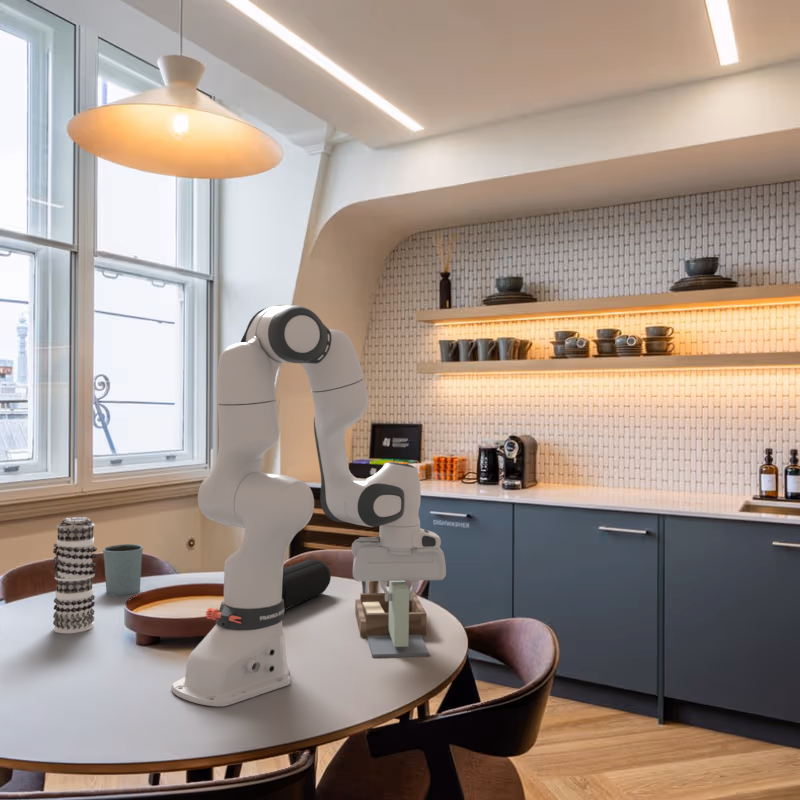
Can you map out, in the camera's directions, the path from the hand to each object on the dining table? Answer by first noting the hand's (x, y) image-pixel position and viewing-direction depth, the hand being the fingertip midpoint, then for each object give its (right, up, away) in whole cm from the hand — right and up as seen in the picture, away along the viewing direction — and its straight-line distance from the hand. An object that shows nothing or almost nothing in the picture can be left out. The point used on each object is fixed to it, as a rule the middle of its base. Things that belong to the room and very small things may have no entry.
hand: (398, 600), depth 156 cm
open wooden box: (-2, -10, +16) cm, 19 cm away
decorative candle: (-75, -9, +9) cm, 76 cm away
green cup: (-76, -9, +40) cm, 86 cm away
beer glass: (-7, -10, +31) cm, 33 cm away
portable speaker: (-28, -10, +31) cm, 43 cm away
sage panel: (0, -8, 0) cm, 8 cm away
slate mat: (0, -10, 0) cm, 10 cm away
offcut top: (-6, -8, +15) cm, 18 cm away
